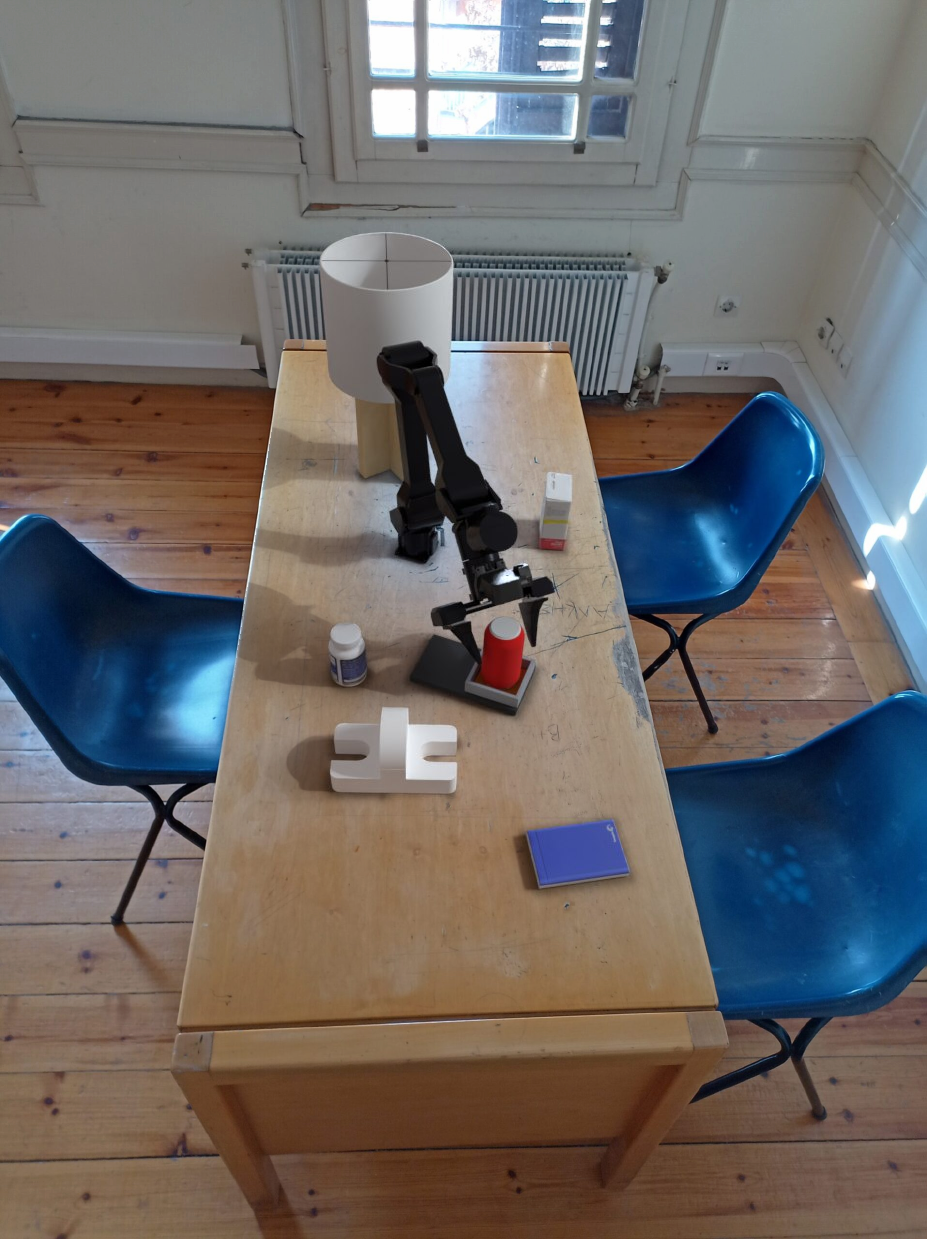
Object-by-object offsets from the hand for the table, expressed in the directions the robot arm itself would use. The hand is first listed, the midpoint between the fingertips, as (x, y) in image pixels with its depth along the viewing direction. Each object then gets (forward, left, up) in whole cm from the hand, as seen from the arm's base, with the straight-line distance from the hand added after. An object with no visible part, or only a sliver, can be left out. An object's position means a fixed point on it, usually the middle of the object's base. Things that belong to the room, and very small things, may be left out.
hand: (507, 655), depth 131 cm
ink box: (-4, +39, -9) cm, 41 cm away
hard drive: (+19, -24, -9) cm, 31 cm away
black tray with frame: (-6, +1, -9) cm, 10 cm away
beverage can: (-1, +1, -7) cm, 8 cm away
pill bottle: (-24, -7, -9) cm, 26 cm away
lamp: (-41, +47, -9) cm, 63 cm away
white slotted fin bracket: (-10, -20, -9) cm, 24 cm away
